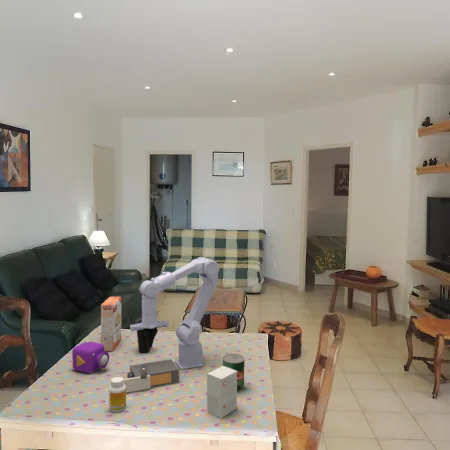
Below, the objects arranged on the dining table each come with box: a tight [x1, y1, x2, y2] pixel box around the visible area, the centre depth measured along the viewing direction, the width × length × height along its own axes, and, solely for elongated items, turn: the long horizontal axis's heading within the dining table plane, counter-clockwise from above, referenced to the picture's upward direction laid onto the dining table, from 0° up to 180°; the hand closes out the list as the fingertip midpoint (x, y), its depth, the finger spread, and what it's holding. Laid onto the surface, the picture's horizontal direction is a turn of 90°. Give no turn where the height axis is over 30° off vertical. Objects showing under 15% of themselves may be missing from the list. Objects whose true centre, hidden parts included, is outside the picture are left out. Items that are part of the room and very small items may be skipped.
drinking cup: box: [134, 317, 151, 355], centre depth 189 cm, size 8×8×20 cm
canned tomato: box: [222, 353, 246, 393], centre depth 157 cm, size 8×8×11 cm
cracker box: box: [100, 296, 122, 352], centre depth 195 cm, size 14×6×21 cm, turn 179°
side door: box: [123, 367, 151, 394], centre depth 153 cm, size 9×2×8 cm, turn 113°
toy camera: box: [71, 339, 110, 374], centre depth 171 cm, size 11×14×10 cm
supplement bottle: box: [108, 376, 127, 413], centre depth 142 cm, size 5×5×10 cm
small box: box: [206, 365, 238, 419], centre depth 141 cm, size 8×6×13 cm
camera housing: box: [126, 359, 180, 389], centre depth 162 cm, size 18×10×5 cm, turn 113°
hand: (149, 346), depth 168 cm, fingers closed
